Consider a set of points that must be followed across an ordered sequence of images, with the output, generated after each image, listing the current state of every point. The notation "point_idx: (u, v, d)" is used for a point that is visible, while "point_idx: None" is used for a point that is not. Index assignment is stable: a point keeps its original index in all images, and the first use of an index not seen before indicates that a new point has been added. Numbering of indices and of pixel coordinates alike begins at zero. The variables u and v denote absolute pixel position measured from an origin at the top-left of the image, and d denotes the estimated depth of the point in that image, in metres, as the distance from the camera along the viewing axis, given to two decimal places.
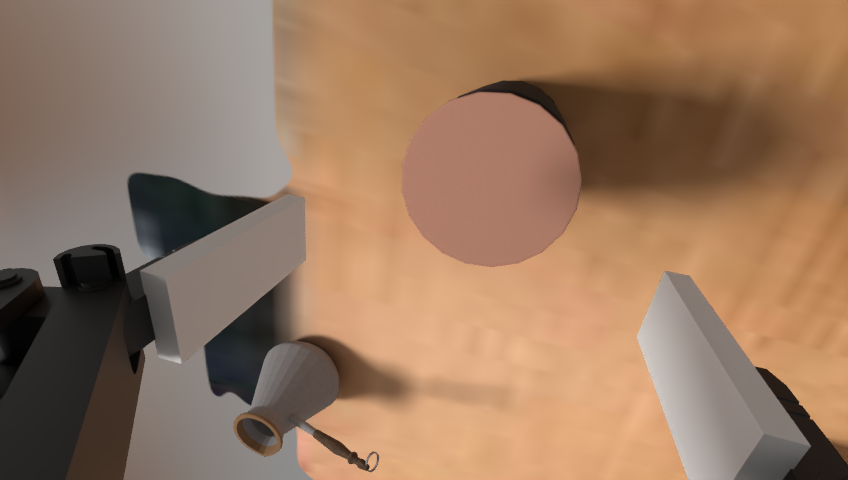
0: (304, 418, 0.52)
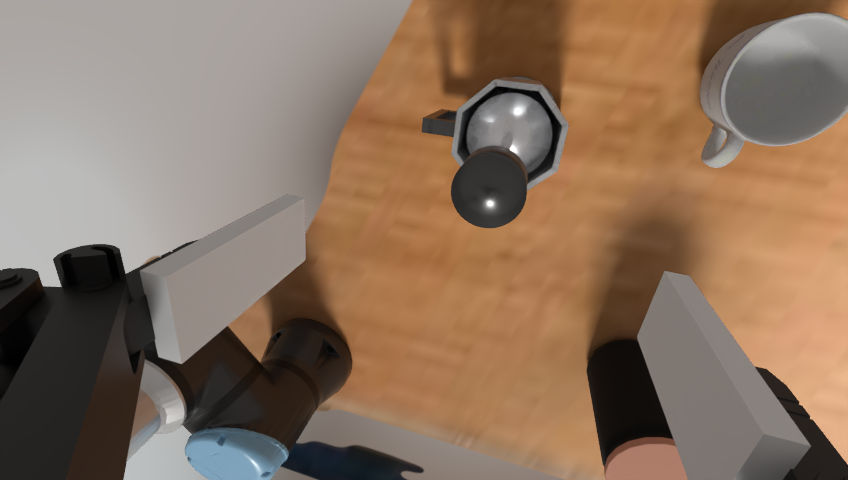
0: None
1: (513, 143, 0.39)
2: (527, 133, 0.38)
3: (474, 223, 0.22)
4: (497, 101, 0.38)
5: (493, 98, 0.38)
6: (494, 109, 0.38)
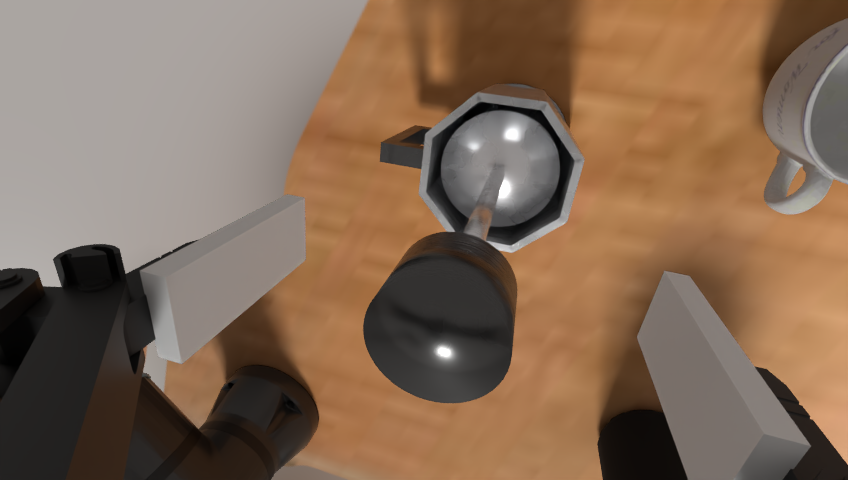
0: None
1: (505, 180, 0.28)
2: (524, 166, 0.27)
3: (411, 391, 0.12)
4: (482, 122, 0.27)
5: (477, 117, 0.27)
6: (478, 133, 0.27)
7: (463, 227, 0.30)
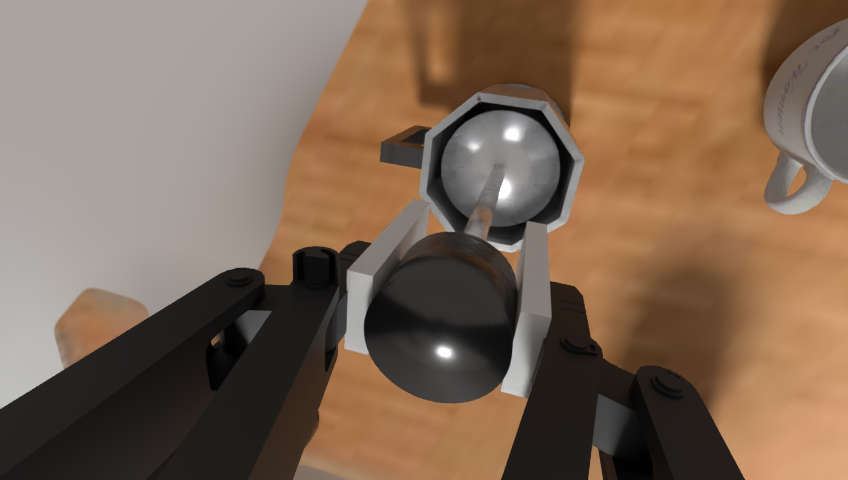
0: None
1: (505, 180, 0.28)
2: (524, 166, 0.27)
3: (411, 391, 0.11)
4: (482, 122, 0.27)
5: (477, 117, 0.27)
6: (478, 133, 0.27)
7: (463, 227, 0.30)
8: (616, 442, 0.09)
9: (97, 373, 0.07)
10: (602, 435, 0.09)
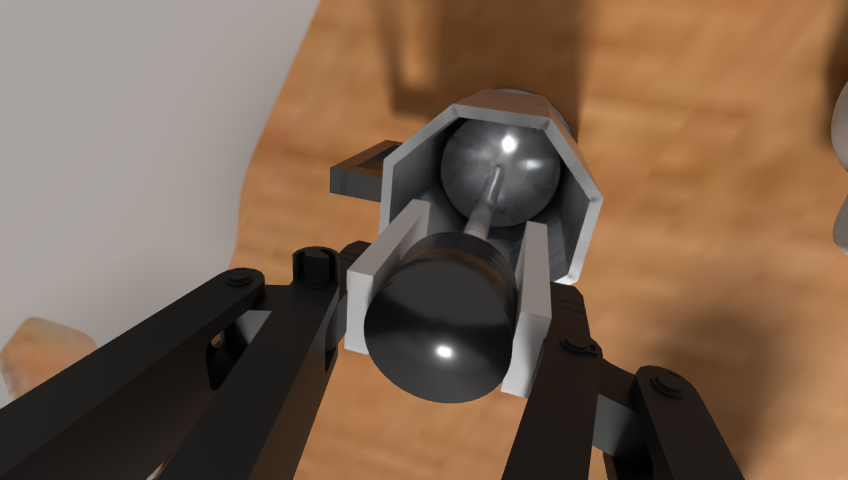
0: None
1: (505, 180, 0.28)
2: (524, 166, 0.27)
3: (411, 391, 0.11)
4: (482, 122, 0.27)
5: None
6: (478, 133, 0.27)
7: None
8: (616, 442, 0.09)
9: (97, 373, 0.07)
10: (601, 435, 0.09)
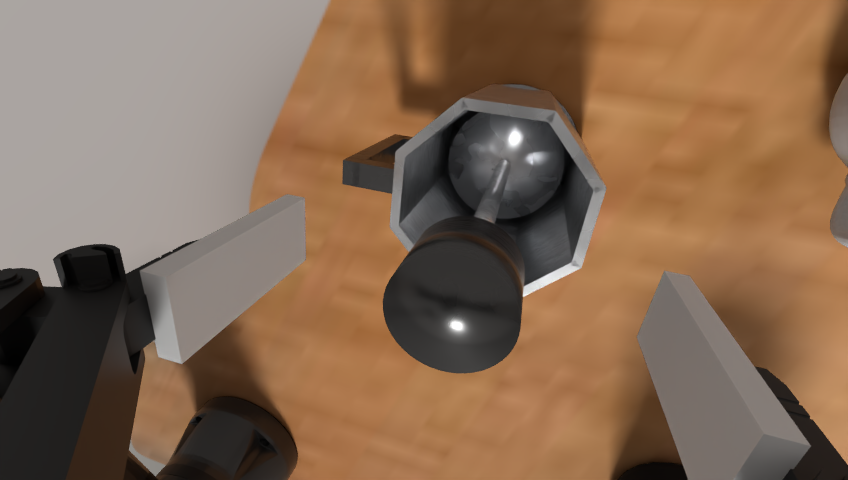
0: None
1: (511, 173, 0.28)
2: (529, 159, 0.28)
3: (427, 362, 0.12)
4: (489, 116, 0.27)
5: None
6: (485, 127, 0.28)
7: None
8: None
9: None
10: None
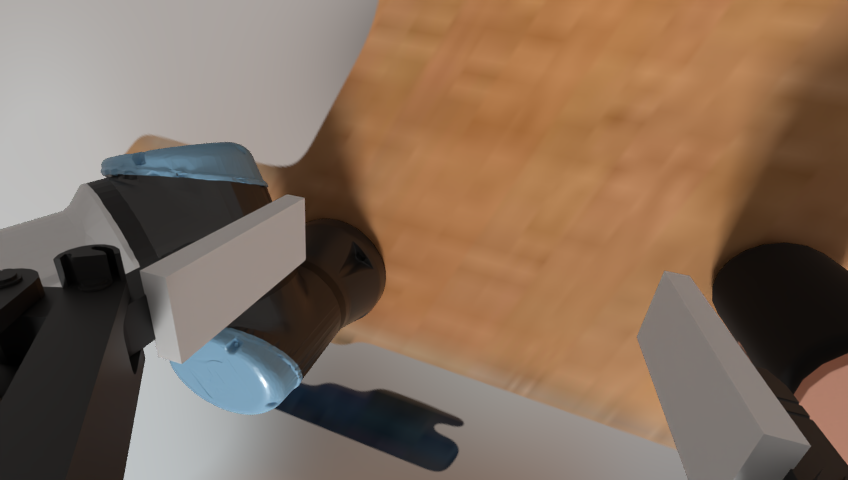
0: None
1: None
2: None
3: None
4: None
5: None
6: None
7: None
8: None
9: None
10: None
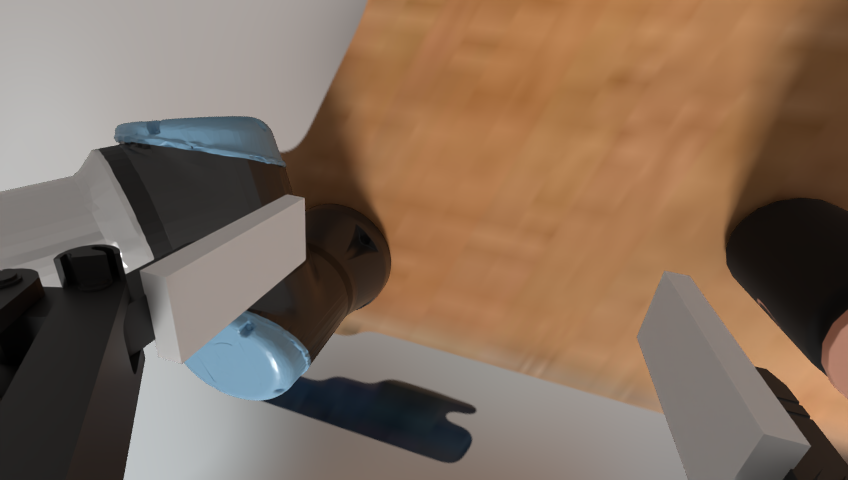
0: None
1: None
2: None
3: None
4: None
5: None
6: None
7: None
8: None
9: None
10: None
